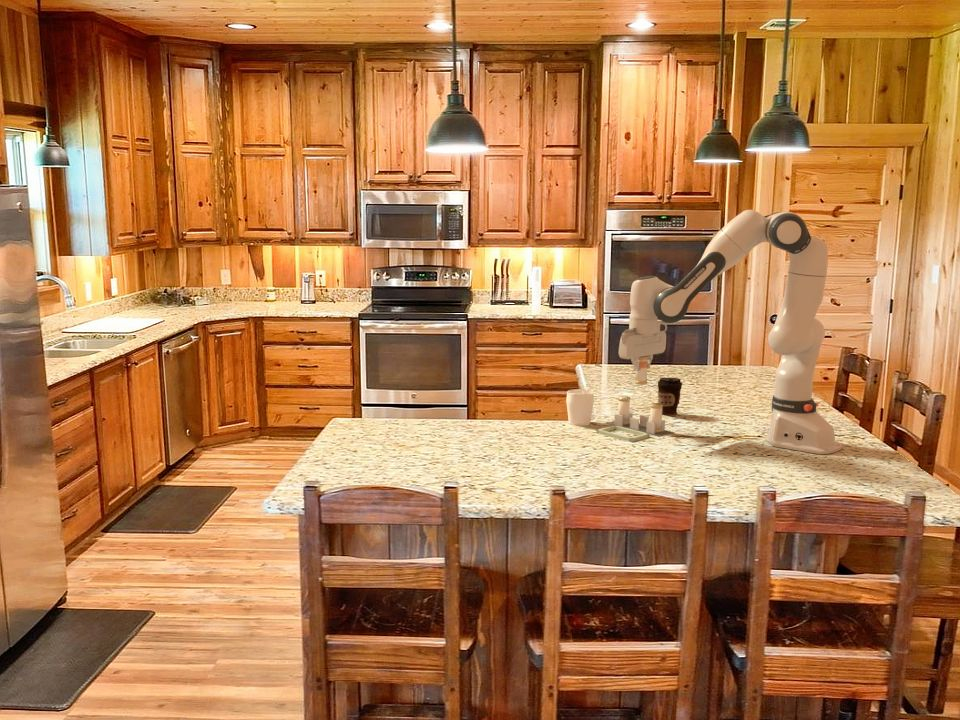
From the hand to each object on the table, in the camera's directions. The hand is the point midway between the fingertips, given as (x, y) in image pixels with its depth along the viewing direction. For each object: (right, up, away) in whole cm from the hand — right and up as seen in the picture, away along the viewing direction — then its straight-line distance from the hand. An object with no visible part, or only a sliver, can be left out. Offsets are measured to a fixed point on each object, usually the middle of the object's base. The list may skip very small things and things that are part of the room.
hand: (641, 369), depth 276 cm
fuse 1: (-4, -18, +8) cm, 20 cm away
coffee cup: (+15, -16, +27) cm, 35 cm away
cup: (-19, -20, +10) cm, 29 cm away
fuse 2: (+4, -20, -1) cm, 20 cm away
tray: (-7, -22, -5) cm, 24 cm away
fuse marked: (0, -5, +1) cm, 5 cm away
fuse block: (0, -21, +4) cm, 21 cm away
